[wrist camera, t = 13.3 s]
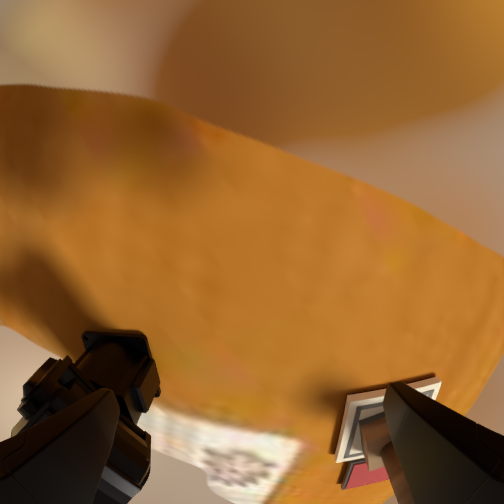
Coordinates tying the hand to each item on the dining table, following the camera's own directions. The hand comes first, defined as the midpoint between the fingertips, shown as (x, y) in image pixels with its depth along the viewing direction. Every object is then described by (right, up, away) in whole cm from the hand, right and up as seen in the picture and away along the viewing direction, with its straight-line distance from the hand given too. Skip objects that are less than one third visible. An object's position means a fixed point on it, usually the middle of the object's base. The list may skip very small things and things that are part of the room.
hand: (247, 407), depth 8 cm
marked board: (+14, -13, +16) cm, 25 cm away
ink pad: (+15, -22, +19) cm, 33 cm away
